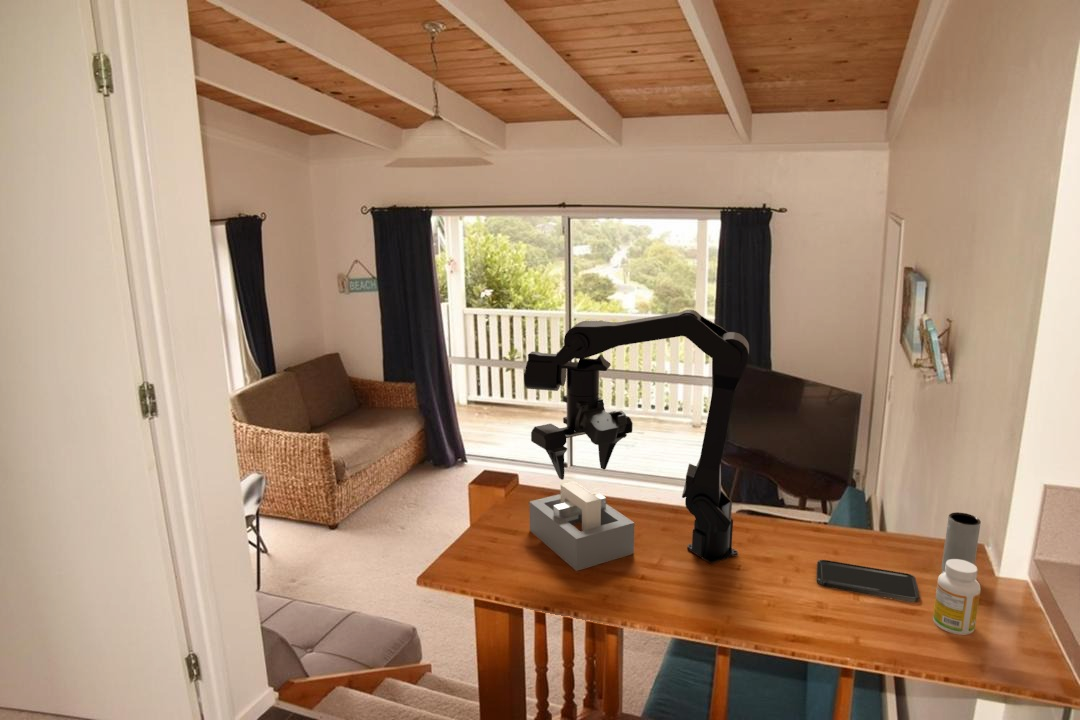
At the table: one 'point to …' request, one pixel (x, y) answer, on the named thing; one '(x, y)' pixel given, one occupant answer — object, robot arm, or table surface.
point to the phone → (867, 580)
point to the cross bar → (572, 509)
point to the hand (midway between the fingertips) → (582, 473)
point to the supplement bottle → (957, 597)
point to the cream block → (582, 504)
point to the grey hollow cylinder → (961, 538)
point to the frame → (582, 534)
